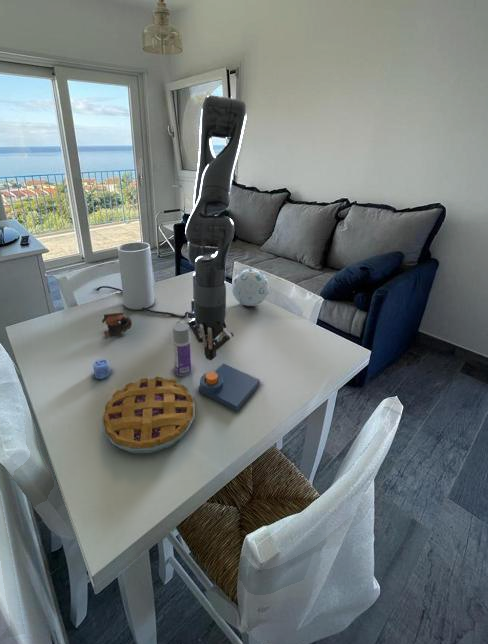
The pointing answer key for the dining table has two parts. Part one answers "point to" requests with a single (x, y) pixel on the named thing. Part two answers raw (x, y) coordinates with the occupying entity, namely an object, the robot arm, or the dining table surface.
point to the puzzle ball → (250, 287)
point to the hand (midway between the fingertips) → (210, 357)
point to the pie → (148, 415)
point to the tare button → (211, 378)
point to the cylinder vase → (136, 275)
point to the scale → (229, 387)
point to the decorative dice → (101, 368)
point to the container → (181, 349)
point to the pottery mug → (116, 324)
